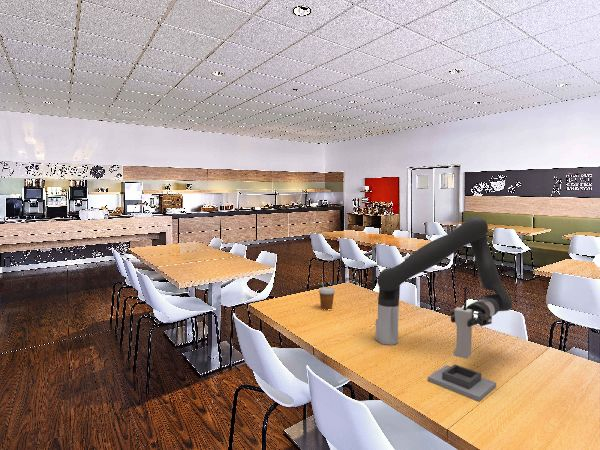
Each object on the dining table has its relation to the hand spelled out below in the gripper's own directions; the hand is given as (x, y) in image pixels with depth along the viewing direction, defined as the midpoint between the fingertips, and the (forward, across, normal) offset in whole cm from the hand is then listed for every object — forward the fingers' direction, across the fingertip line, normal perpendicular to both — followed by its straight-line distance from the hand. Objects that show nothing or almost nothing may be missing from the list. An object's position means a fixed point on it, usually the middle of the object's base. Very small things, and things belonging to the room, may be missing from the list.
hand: (460, 321), depth 129 cm
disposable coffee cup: (-29, -91, +23) cm, 99 cm away
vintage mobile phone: (-3, 0, +13) cm, 13 cm away
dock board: (-1, 0, +23) cm, 23 cm away
